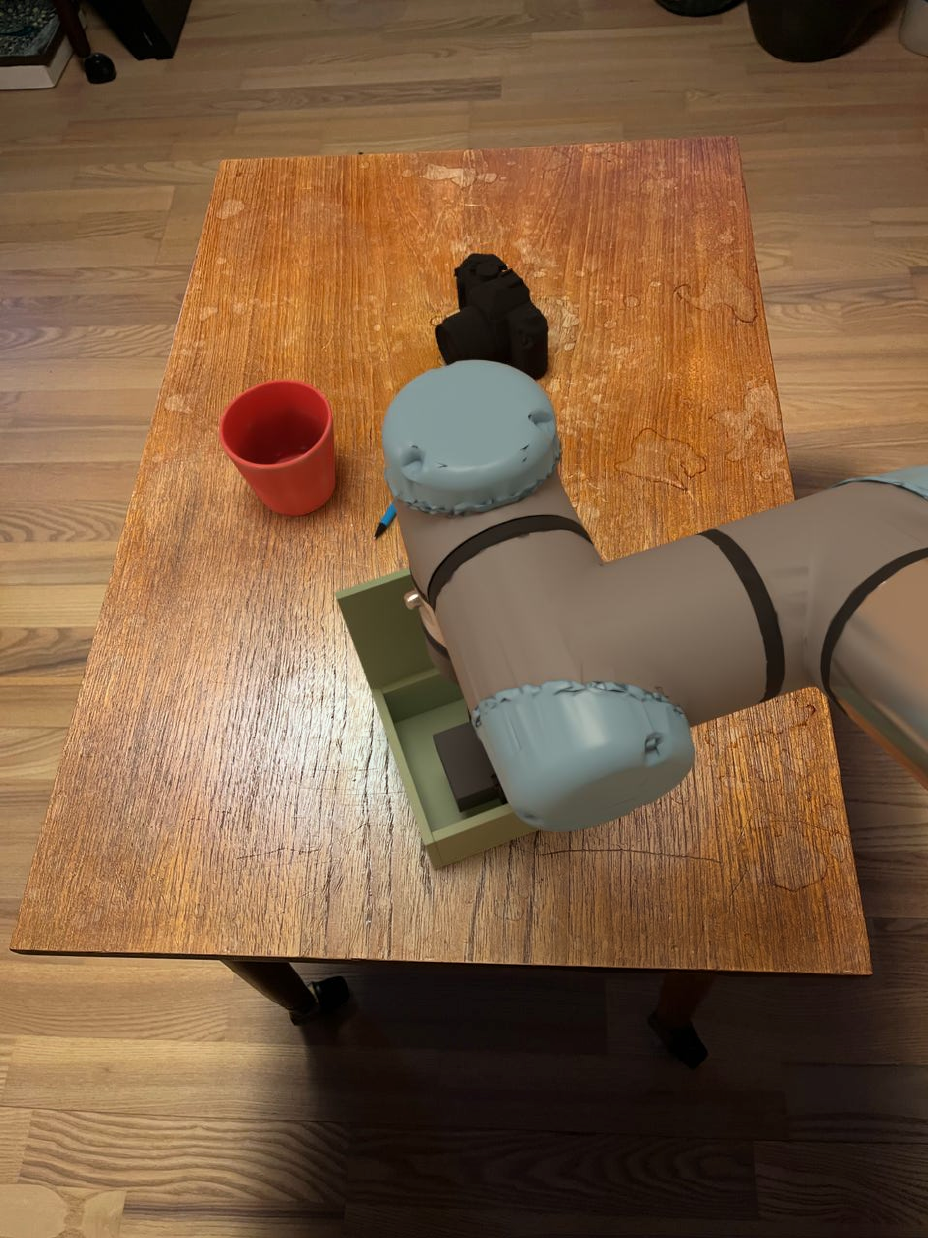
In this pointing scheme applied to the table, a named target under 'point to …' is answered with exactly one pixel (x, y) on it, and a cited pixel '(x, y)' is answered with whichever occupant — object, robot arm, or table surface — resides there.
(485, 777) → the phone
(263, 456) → the flower pot
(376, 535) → the pen
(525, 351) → the film camera
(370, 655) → the cover
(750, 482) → the table surface
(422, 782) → the case
